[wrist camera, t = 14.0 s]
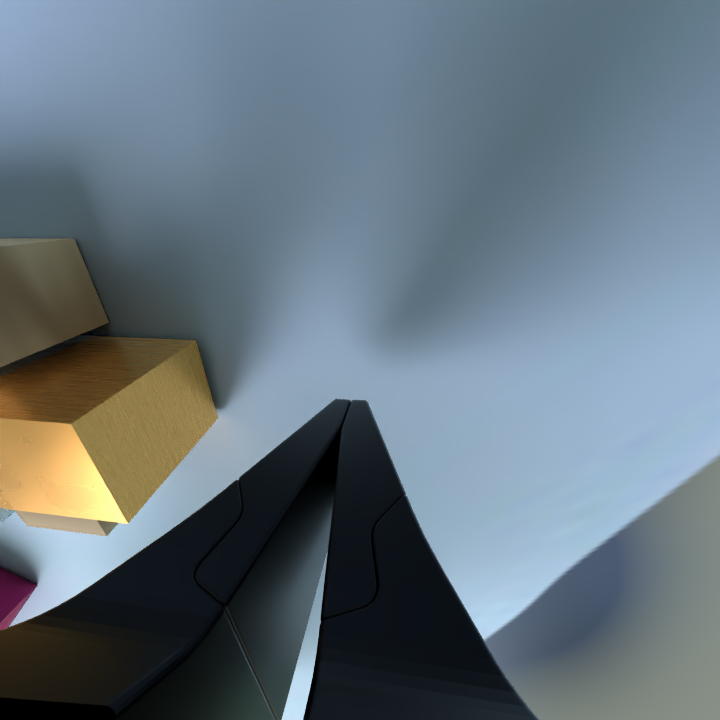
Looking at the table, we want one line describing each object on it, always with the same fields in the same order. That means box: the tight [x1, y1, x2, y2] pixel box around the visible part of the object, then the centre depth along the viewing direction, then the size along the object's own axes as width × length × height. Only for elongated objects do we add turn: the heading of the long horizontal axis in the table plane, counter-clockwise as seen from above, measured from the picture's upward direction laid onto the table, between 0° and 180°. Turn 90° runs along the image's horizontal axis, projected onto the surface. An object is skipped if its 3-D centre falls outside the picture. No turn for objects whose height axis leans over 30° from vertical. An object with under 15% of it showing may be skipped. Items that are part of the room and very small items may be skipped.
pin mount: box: [0, 238, 118, 536], centre depth 9 cm, size 9×3×3 cm, turn 1°
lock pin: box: [0, 335, 218, 524], centre depth 9 cm, size 3×10×4 cm, turn 91°
